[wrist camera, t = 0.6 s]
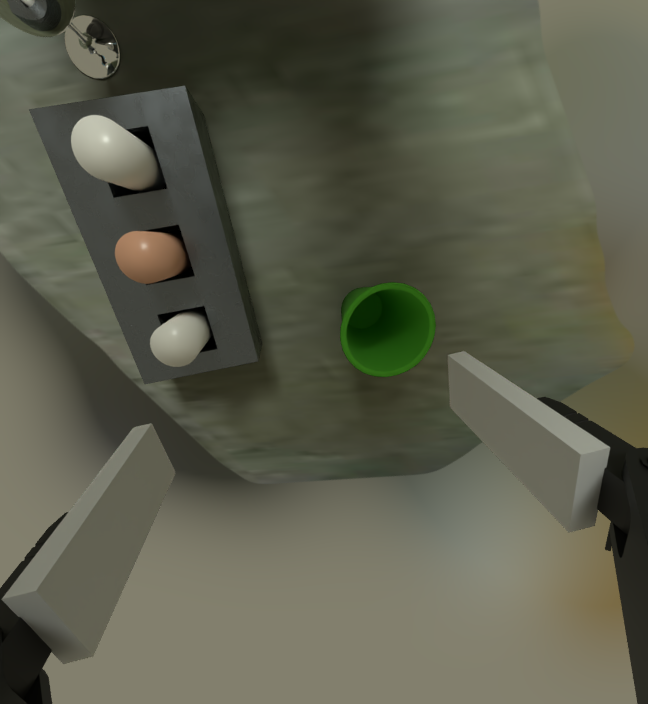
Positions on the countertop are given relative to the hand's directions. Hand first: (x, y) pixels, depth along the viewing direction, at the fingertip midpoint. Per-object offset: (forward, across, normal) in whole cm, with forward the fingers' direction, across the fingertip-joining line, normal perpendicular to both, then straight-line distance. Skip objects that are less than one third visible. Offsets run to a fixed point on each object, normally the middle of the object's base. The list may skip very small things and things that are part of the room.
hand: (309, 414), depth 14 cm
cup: (+26, +8, -3) cm, 27 cm away
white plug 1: (+22, -10, +15) cm, 29 cm away
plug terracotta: (+22, -11, +8) cm, 26 cm away
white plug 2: (+22, -11, 0) cm, 25 cm away
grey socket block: (+26, -11, +8) cm, 29 cm away
